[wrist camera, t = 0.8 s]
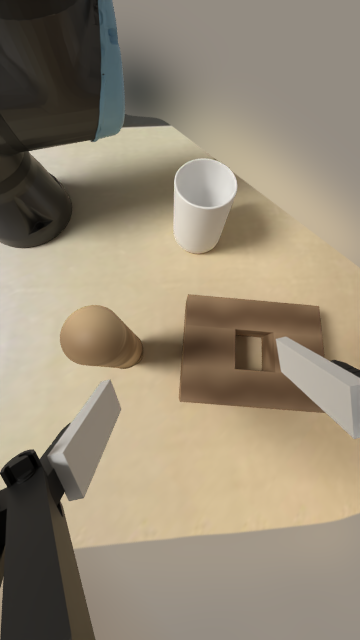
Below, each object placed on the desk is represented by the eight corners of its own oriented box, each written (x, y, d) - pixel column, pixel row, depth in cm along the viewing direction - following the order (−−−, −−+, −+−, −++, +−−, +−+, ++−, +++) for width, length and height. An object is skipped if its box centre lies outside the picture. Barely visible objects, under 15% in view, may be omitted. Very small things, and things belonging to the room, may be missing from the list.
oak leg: (117, 336, 32) (67, 302, 16) (148, 338, 32) (127, 307, 16) (112, 367, 30) (52, 363, 15) (144, 370, 31) (117, 368, 15)
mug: (238, 222, 38) (263, 167, 28) (199, 264, 36) (211, 220, 25) (204, 197, 39) (216, 135, 29) (163, 236, 37) (160, 183, 26)
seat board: (185, 303, 34) (187, 294, 30) (302, 313, 34) (319, 306, 30) (178, 397, 30) (180, 401, 26) (310, 408, 30) (330, 413, 26)
